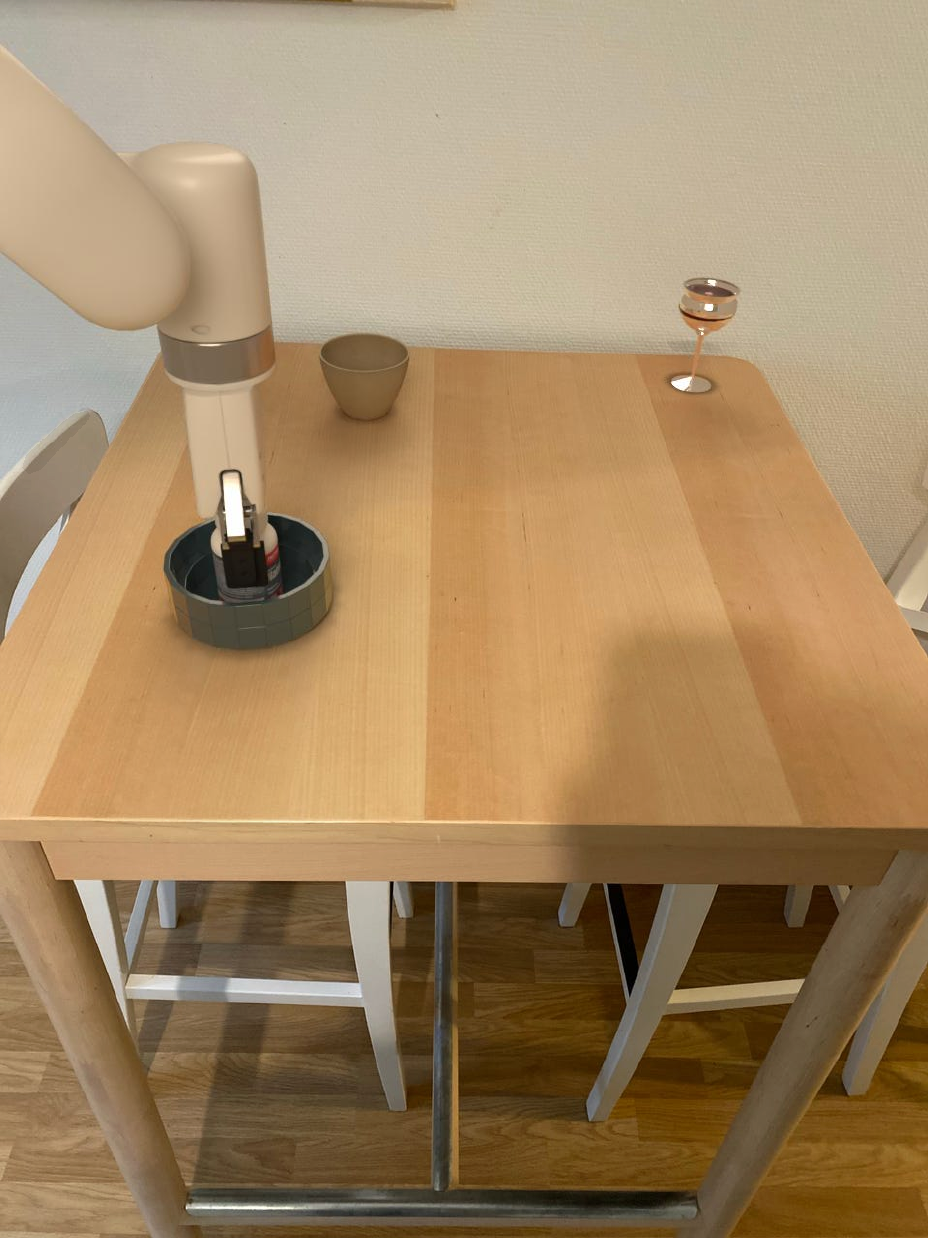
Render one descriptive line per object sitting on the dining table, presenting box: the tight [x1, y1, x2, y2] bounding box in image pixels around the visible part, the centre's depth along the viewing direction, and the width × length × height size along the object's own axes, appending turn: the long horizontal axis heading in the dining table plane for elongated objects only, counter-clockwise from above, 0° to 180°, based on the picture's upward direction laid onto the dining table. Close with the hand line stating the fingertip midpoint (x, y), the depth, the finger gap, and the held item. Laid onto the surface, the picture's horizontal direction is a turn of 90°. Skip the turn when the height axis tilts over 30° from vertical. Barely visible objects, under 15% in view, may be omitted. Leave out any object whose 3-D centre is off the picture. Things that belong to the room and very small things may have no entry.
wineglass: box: [670, 276, 742, 393], centre depth 109 cm, size 7×7×12 cm
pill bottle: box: [211, 500, 283, 603], centre depth 73 cm, size 5×5×9 cm
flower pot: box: [317, 332, 411, 421], centre depth 102 cm, size 10×10×7 cm
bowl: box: [162, 511, 333, 651], centre depth 75 cm, size 13×13×5 cm
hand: (247, 560), depth 73 cm, fingers closed on pill bottle, 5 cm apart
